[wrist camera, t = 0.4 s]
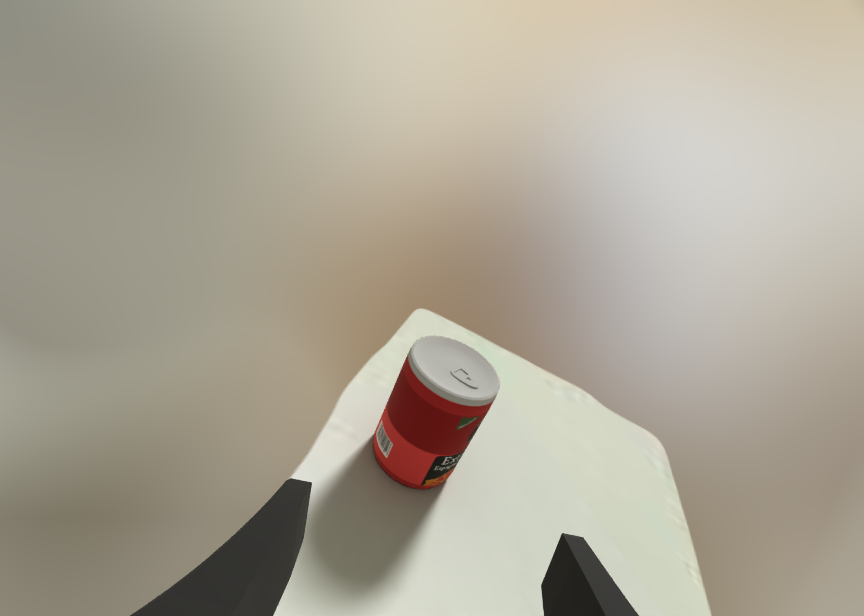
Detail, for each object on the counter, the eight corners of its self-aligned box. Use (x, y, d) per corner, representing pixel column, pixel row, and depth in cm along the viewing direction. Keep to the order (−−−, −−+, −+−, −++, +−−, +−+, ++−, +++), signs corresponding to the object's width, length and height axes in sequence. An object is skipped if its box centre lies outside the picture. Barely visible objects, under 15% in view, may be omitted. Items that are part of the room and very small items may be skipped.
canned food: (432, 509, 37) (486, 416, 32) (353, 456, 38) (393, 360, 33) (462, 453, 44) (510, 368, 39) (393, 410, 45) (432, 323, 40)
